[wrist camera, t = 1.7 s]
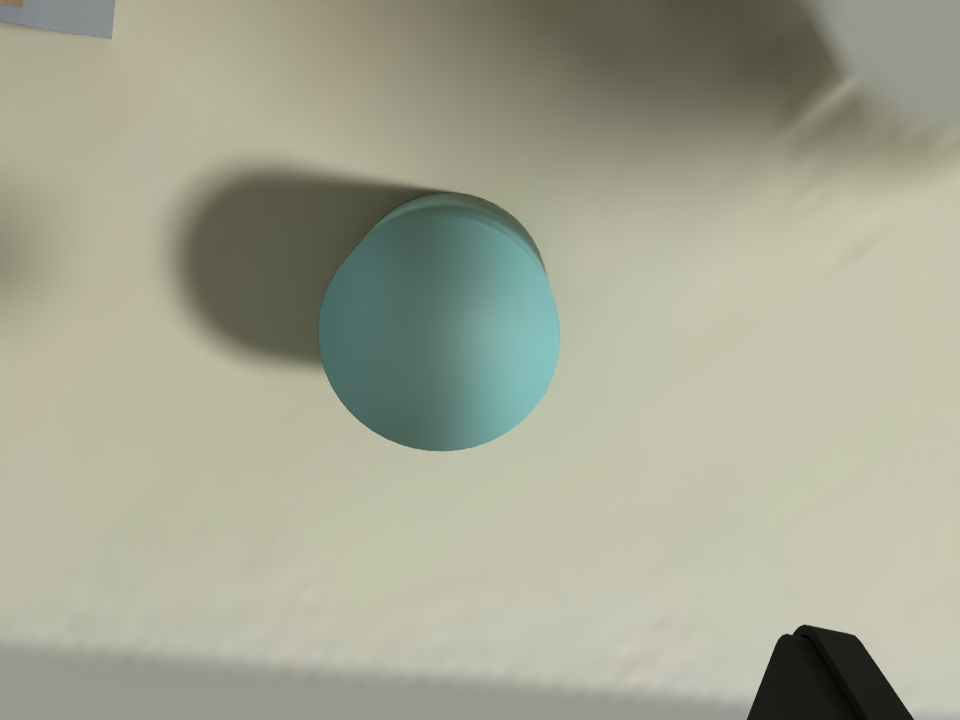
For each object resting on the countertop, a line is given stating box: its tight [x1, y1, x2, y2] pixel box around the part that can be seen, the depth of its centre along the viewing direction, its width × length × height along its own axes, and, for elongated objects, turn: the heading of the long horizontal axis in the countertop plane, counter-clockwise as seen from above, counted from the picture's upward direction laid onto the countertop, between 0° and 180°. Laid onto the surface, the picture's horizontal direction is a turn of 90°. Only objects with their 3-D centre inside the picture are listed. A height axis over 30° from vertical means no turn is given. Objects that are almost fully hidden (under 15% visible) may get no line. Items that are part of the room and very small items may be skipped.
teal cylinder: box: [318, 192, 560, 451], centre depth 24 cm, size 6×6×6 cm
